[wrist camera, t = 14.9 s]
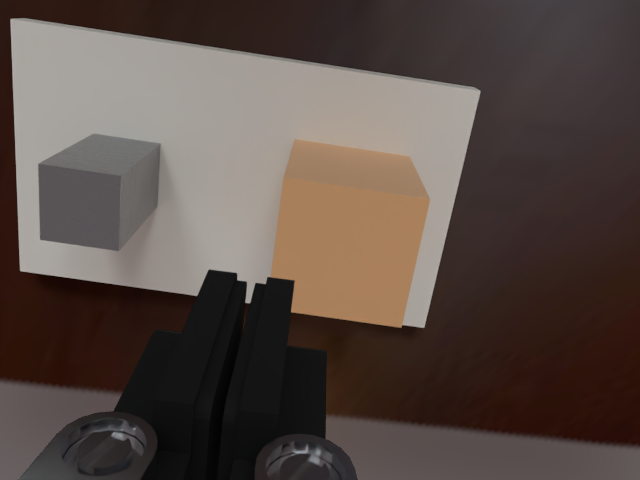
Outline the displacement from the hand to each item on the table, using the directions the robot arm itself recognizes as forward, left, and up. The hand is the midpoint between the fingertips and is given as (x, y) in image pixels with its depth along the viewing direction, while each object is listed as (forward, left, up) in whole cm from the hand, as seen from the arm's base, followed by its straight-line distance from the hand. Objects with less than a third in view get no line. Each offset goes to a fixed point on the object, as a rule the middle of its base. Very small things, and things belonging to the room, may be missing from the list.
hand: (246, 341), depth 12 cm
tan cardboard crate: (+4, +3, -22) cm, 22 cm away
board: (+4, -3, -23) cm, 24 cm away
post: (+4, -9, -23) cm, 25 cm away
